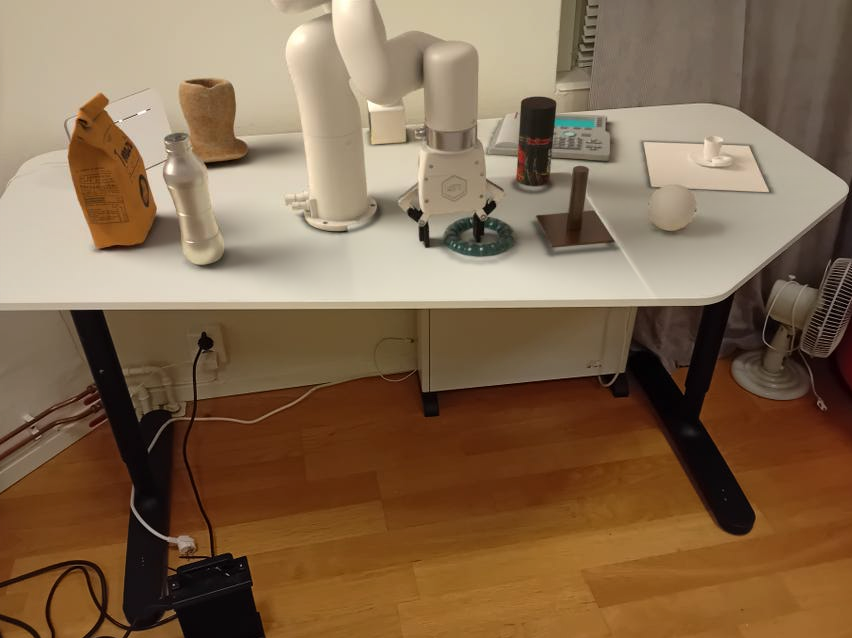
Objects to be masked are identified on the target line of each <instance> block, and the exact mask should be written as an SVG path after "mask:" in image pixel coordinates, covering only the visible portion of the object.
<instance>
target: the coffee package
mask: <svg viewBox="0 0 852 638" xmlns="http://www.w3.org/2000/svg"><path fill="white" fill-rule="evenodd" d="M109 103H110V100H109V98H108V97H106V95H104V93H102V92H98V93H97V94H96V95H94V96H93V97H92V98H91V99H90V100H88V101H87V102H86V103H84V104H83V105H82V106H80V107H79V109H78V111H77V115H76V117H75V122H74V123H75V124H74V127H73V131H72V133H71V137H70V141H69V143H68V150H67V161H68V167H69V172H70V177H71V181H72V184H73V187H74V191H75V195H76V198H77V202H78V203H79V206H80V208H81V211H82V214H83V217H84V219H85V222H86V224H87V227H88V229H89V232H90V235H91V239H92V240H93V244H94V247H95V248H97V249H104V248H108V247H113V246H134V245H137V244H142V243H144V242H145V240H146V239H147V236H148V234H149V232H150V230H151V228H152V226H153V224H154V221H155V218H156V215H157V211H158V207H157V204H156V202H155V198H154V194H153V192H152V190H151V189H152V188H151V186H150V183H149V179H148V173H147V169H146V167H145V163H144V159H143V157H142V155H141V153H140V151H139V149H138V148H137V146H136V144H135V143H134V142H133V140H132V139H131V138H130V137H129V135H127V134H126V132H124V130H122V129H121V128H120V127H119V126H118V125H116V123H115V122H114V120H113V118H112V117H111V116H110V114H109V113H108V111H107V110H105V108H106V107H107V106H108V105H109Z"/></svg>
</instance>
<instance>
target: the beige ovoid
mask: <svg viewBox="0 0 852 638" xmlns="http://www.w3.org/2000/svg"><path fill="white" fill-rule="evenodd" d="M655 190H656V191H655V192H654V193H652V195H651V197H650V200H649V202H648V203H647V212H648V216H649V218H650V220H651V222H652V223H653V224H654V226H656V227H657V228H658V229H660V230H663V231H672V232H673V231H678V230H681V229H682V228H685V227H686V226H687V225H689V223H690V222H692V221H693V219H694V216H695V214H696V213H697V202H696V198H695V195H694V194H693V193H692V191H691V190H690V189H688V188H686V187H684V186H681V185H677V184H671V185H666V186H663V187H659V188H658V189H657V188H655Z"/></svg>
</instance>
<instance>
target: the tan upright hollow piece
mask: <svg viewBox="0 0 852 638" xmlns="http://www.w3.org/2000/svg"><path fill="white" fill-rule="evenodd" d="M235 92H236V91H235V88H234V86H233V84H232V82H231V81H229V80H227V79H225V78H219V77H201V78H200V77H199V78H190V79H185V80H182V81H181V82H180V83H179V87H178V101H179V105H180V108H181V112H182V114H183V116H184V119H185V121H186V124H187V126H188V130H189V137H190V141H191V144H192V147H193V149H192V152H193V153H195V154H196V155H197V156H198V157H199V158H200V159H201V160H202V161H203V162H204V164H205V163H214V162H215V163H216V162H223V161H230V160H231V161H232V160H236V159H241V158H243V157H245V156H246V155H247V153H248V151H249V146H248V144H247V143H246V141H244V140H242V139H239V138H237V137H236V136H235V135H236V134H235V129H234V125H235V119H236V113H237V102H236V100H237V99H236V93H235ZM168 155H169V154H168V153H167V155H166V158H167V157H168Z"/></svg>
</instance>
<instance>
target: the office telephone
mask: <svg viewBox="0 0 852 638" xmlns="http://www.w3.org/2000/svg"><path fill="white" fill-rule="evenodd" d="M607 122H608V116H606V115H599V114H598V115H597V114H580V113H579V114H578V113H556V114H555V125H554V136H553V147H552V158H557V159H558V158H559V159H574V160H590V161H607V162H608V161H609V160H610V155H611V133H610V132H608V131H607V130H606V124H607ZM519 127H520V112H518V111H516V112H510V113H507V114H506V115H503V116H502V118H501V119H500V122H499V124H498V126H497V128H496V130H495V132H494V134H493V137H492V139H491V141H490V143H489V145H488V148H487V153H488V154H489V155H501V156H502V155H503V156H518V144H519Z"/></svg>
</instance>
